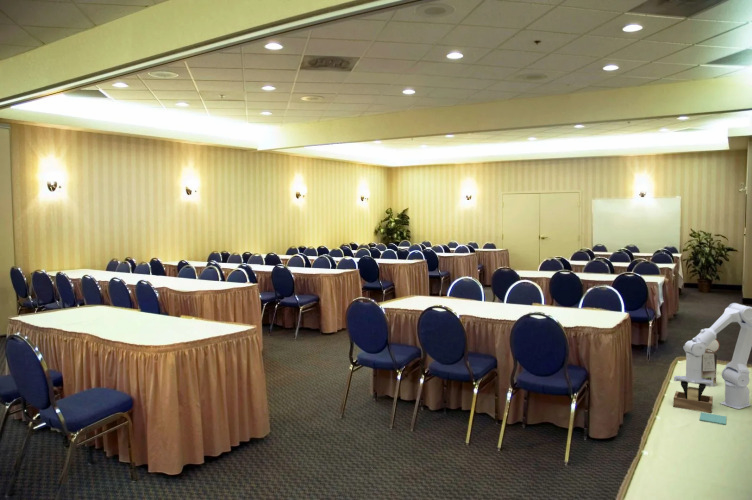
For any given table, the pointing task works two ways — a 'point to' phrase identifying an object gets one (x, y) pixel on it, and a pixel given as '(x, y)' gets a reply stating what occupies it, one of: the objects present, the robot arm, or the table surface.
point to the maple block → (692, 393)
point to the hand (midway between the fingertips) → (692, 399)
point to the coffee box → (709, 366)
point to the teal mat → (713, 418)
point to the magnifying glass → (714, 345)
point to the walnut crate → (693, 402)
